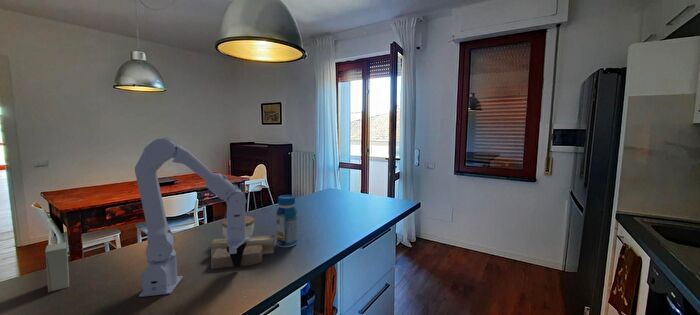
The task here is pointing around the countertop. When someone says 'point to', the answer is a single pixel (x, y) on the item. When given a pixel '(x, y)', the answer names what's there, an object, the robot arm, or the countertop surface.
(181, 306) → the countertop surface
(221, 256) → the brick
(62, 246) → the skincare box
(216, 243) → the batten
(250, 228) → the white round tub
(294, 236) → the beverage bottle
